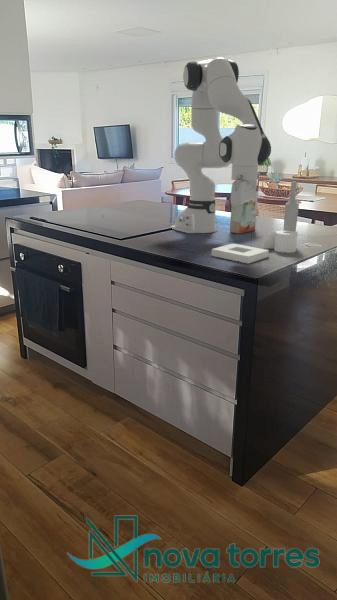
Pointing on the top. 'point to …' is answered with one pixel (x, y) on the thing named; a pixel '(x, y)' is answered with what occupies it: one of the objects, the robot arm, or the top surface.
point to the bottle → (291, 210)
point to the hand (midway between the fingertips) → (242, 215)
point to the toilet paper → (281, 241)
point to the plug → (246, 213)
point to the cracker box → (248, 226)
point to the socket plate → (240, 253)
